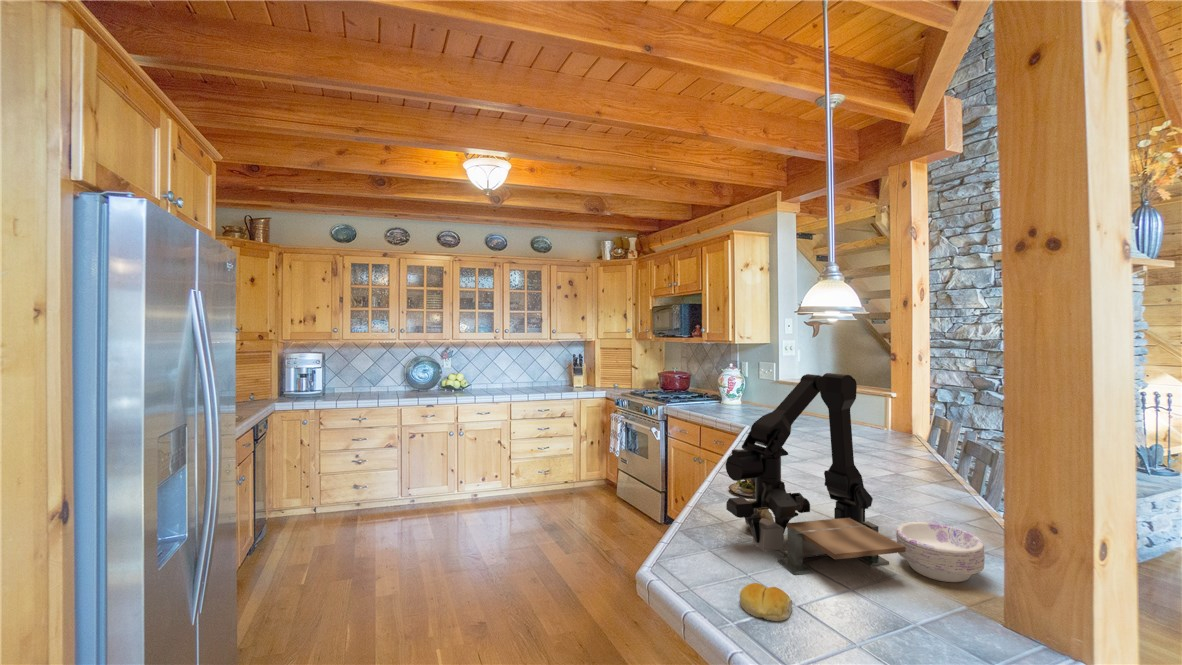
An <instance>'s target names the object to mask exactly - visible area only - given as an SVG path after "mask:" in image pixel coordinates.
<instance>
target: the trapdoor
mask: <svg viewBox="0 0 1182 665" xmlns="http://www.w3.org/2000/svg"><path fill="white" fill-rule="evenodd" d="M788 528H795V529H796V530H798V531H799V532H801V533H803V548H802V557H803V556H812V555H822V554H828V555H827V556H829V557H831V558H832V559H834V560H842V559H852V558H857V557H862V556H872V555H879V556H880V555H889V554H898V553H900V552H906V547H905V546H903V545H901V544H899V543H897V541H895V540H893V539H891V538H889V537H887V536H885V535H884V534H881V533H879V531H878V532H876V531H874V530H872V529H870V528H868V527H866V526H865V525H862V524H860V523H858V522H857V521H855V520H853V519H851V518H840V519H834V518H830V519H819V520H818V519H817V520H808V521H807V520H806V521H796V522H789V523H787V527H786V529H788Z"/></svg>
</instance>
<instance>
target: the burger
mask: <svg viewBox="0 0 1182 665" xmlns="http://www.w3.org/2000/svg"><path fill="white" fill-rule="evenodd" d="M728 489H730V490H731V491H732V492H733V493H734V494H737V495H739V496H744V497H745V496H746V497H753V494H755V482H754V481H753V478H752V479H745V480H739V481H735V483H732V484H730V485H729V486H728Z"/></svg>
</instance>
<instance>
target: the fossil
mask: <svg viewBox="0 0 1182 665" xmlns="http://www.w3.org/2000/svg"><path fill="white" fill-rule="evenodd" d="M746 500H747V501H749V502H753V501H755V499H746ZM758 515H759V516H760V517H761V520H762V519H768V520H772V521H774V522H775V518H774V517H773V514H772V512H770V509H763V510H758ZM744 520H745V524H746V525H748V523H747V521H746V519H745V518H744ZM748 526H749V525H748Z"/></svg>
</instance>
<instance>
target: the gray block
mask: <svg viewBox="0 0 1182 665" xmlns="http://www.w3.org/2000/svg"><path fill="white" fill-rule="evenodd" d="M784 537H785V532H784V528H783V527H781V526H780V525H778V524H777V523H776V522H775V520H774V521H772V520H768V519H762V520H760V522H759V543H757V542H755V540H754V537H753V536H752V543H753V544H754V545H755V546H757V547H758V548H759V549H761V550H762V552H771V551H781V550H784V549H785V547H784V545H785V541H784V540H785V538H784Z"/></svg>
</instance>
